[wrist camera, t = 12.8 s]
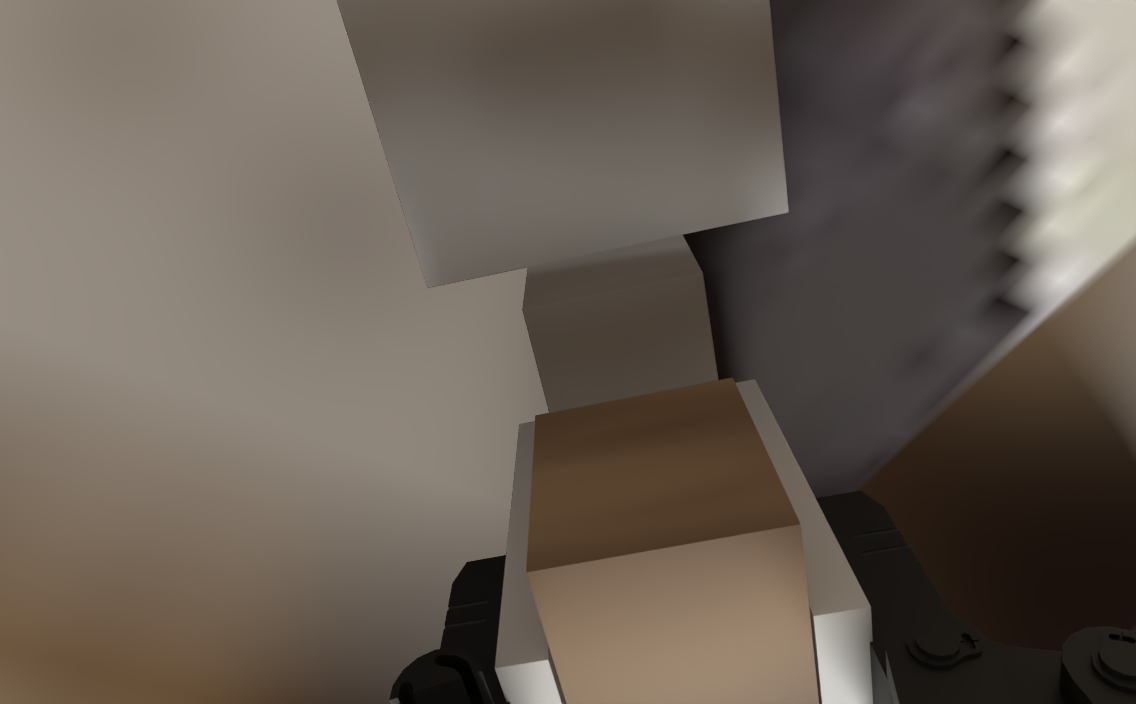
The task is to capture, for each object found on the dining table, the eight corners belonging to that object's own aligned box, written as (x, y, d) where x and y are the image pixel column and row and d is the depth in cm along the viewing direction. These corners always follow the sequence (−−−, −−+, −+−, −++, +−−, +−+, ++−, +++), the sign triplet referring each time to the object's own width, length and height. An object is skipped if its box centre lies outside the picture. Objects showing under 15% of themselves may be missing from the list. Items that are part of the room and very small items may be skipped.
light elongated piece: (820, 643, 20) (945, 949, 13) (560, 685, 20) (560, 998, 14) (735, -231, 12) (943, -509, 5) (312, -120, 12) (44, -254, 6)
